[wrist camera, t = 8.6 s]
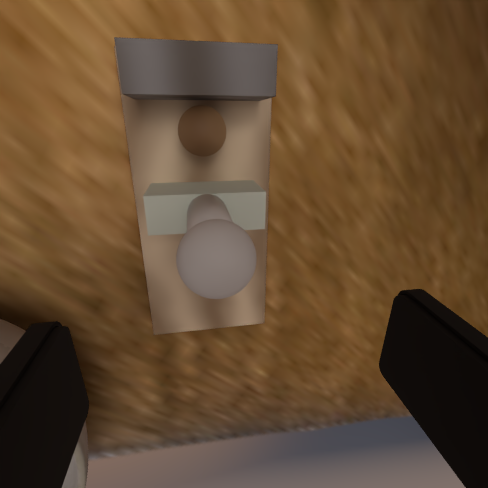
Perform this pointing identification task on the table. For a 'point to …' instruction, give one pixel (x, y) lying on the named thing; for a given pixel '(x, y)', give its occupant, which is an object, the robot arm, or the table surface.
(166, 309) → the base
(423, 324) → the robot arm
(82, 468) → the decorative bowl
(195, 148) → the walnut
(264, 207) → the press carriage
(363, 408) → the table surface
